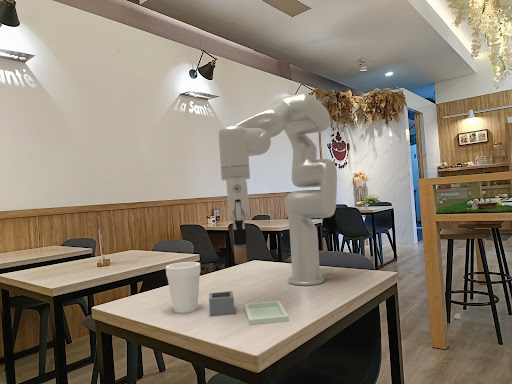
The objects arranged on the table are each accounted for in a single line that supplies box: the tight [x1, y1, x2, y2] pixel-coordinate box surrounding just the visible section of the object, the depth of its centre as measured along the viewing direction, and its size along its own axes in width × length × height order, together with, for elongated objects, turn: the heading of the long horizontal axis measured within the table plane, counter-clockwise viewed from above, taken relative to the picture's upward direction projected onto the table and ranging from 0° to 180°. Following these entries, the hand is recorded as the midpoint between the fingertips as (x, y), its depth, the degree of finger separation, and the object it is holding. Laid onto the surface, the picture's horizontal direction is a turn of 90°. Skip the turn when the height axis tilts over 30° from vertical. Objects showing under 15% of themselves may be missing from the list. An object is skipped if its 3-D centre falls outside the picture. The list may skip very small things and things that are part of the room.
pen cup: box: [208, 290, 235, 317], centre depth 103 cm, size 6×6×5 cm
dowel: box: [231, 223, 248, 265], centre depth 101 cm, size 3×3×10 cm
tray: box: [244, 300, 290, 326], centre depth 99 cm, size 14×10×2 cm
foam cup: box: [165, 261, 201, 314], centre depth 107 cm, size 10×9×13 cm
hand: (239, 243), depth 101 cm, fingers closed on dowel, 3 cm apart
